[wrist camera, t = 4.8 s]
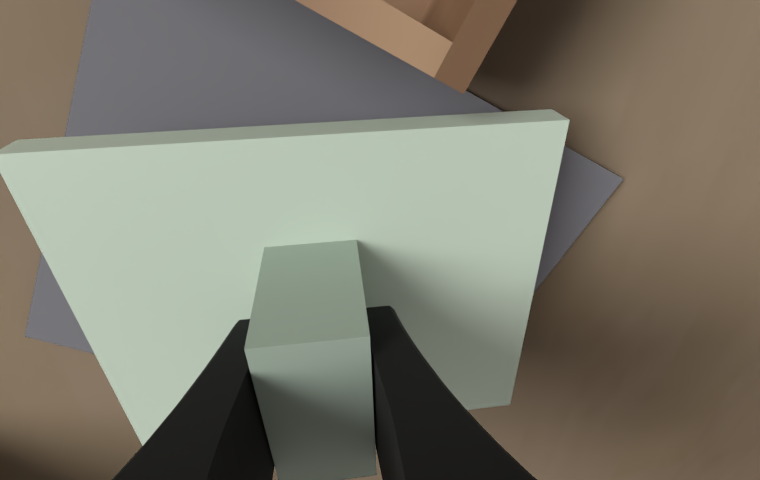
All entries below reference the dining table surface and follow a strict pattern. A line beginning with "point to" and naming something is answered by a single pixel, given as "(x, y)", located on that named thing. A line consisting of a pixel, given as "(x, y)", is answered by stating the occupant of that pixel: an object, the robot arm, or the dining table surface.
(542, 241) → the lid
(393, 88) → the mat
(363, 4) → the box
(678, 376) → the dining table surface
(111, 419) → the dining table surface
